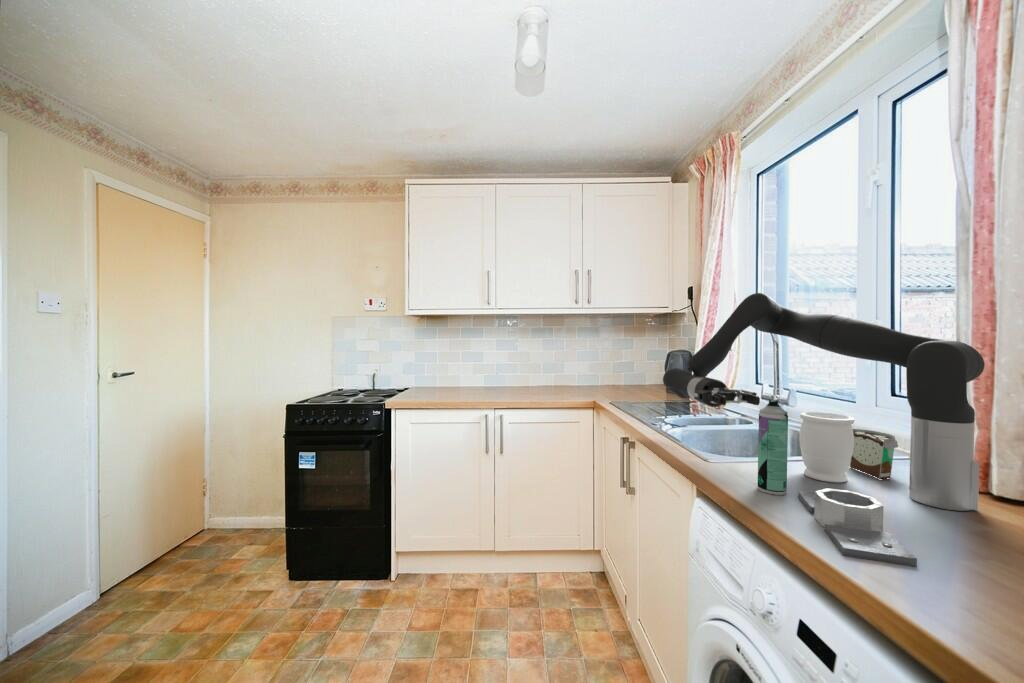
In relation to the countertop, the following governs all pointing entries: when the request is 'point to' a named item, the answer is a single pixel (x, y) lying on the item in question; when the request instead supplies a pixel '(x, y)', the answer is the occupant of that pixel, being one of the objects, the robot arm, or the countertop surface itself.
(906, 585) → the countertop surface
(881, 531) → the grey octagonal flange mount
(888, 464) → the food container
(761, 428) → the spray can
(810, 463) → the jar
